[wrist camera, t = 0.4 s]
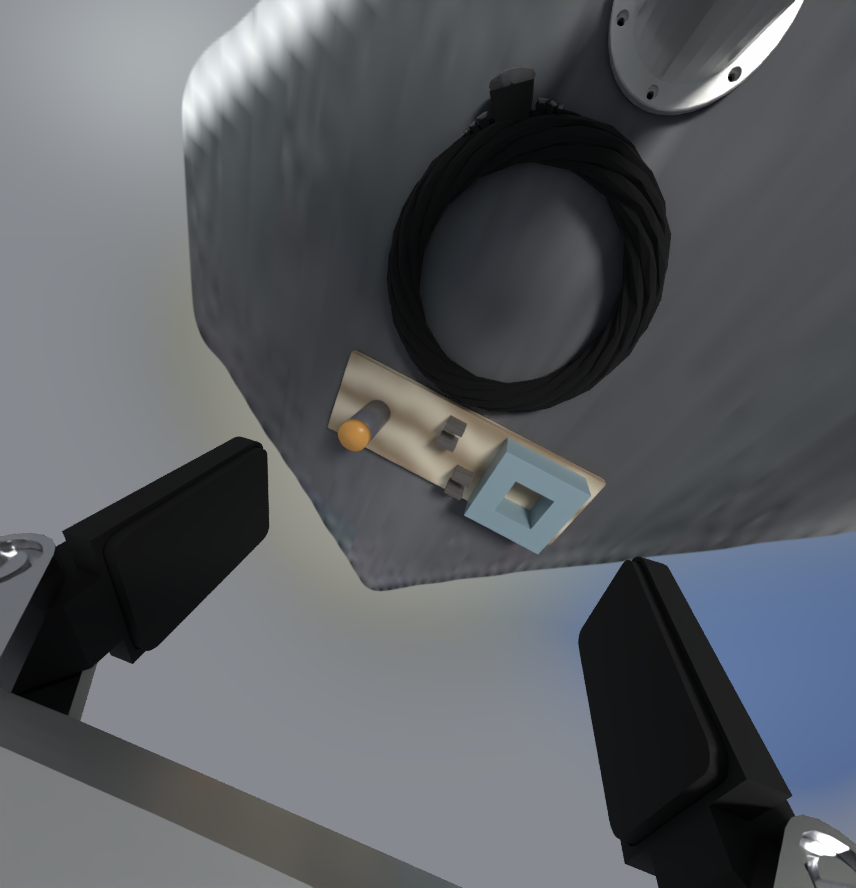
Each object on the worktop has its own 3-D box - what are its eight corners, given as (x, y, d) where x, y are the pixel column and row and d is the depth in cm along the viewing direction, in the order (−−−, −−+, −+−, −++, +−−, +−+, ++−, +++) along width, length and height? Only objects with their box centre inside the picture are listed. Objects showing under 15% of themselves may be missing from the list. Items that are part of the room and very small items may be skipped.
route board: (355, 349, 44) (341, 356, 41) (603, 479, 44) (611, 497, 40) (331, 424, 50) (317, 435, 47) (549, 538, 50) (552, 558, 46)
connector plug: (370, 395, 45) (342, 417, 38) (394, 407, 45) (371, 432, 38) (362, 417, 47) (334, 442, 40) (385, 429, 47) (361, 456, 40)
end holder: (507, 437, 43) (506, 451, 40) (585, 477, 43) (591, 495, 39) (468, 498, 48) (463, 515, 45) (537, 534, 48) (538, 554, 45)
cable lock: (402, 420, 43) (352, 109, 31) (411, 409, 47) (369, 125, 34) (651, 414, 36) (720, 1, 23) (640, 402, 39) (695, 35, 27)
